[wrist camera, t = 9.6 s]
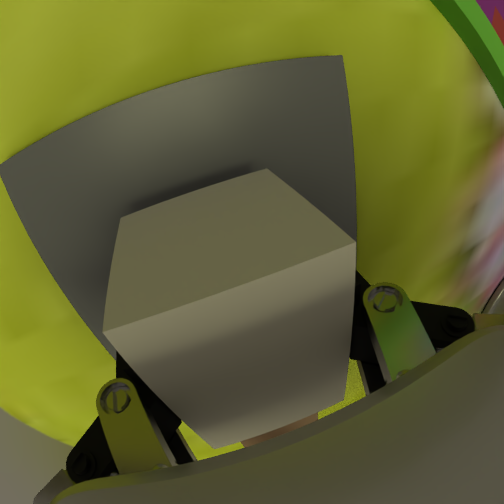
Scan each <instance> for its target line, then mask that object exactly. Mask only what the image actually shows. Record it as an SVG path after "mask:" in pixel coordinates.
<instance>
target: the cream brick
mask: <svg viewBox="0 0 504 504" xmlns="http://www.w3.org/2000/svg"><path fill="white" fill-rule="evenodd" d="M355 268H356V242H355V241H354V240H353V239H352V238H351V237H350V236H349V235H348V234H346V233H345V232H344V231H343V230H342V229H341V228H339V227H338V226H337V225H336V224H335V223H334V222H333V221H331V220H330V219H329V218H328V217H327V216H325V215H324V214H323V213H322V212H321V211H320V210H318V209H317V208H316V207H315V206H314V205H312V204H311V203H310V202H309V201H307V200H306V199H305V198H304V197H303V196H301V195H300V194H299V193H298V192H296V191H295V190H294V189H293V188H291V187H290V186H289V185H288V184H286V183H285V182H284V181H283V180H281V179H280V178H279V177H277V176H276V175H275V174H274V173H272V172H271V171H270V170H268V169H267V168H266V169H263V170H259V171H256V172H253V173H249V174H246V175H242V176H239V177H236V178H233V179H229V180H226V181H223V182H220V183H217V184H214V185H211V186H207V187H204V188H201V189H198V190H195V191H192V192H189V193H187V194H184V195H181V196H178V197H175V198H172V199H169V200H167V201H164V202H161V203H158V204H156V205H153V206H150V207H147V208H145V209H142V210H139V211H137V212H134V213H132V214H129V215H126V216H124V217H121V219H120V223H119V228H118V233H117V237H116V242H115V248H114V253H113V258H112V264H111V270H110V276H109V282H108V289H107V296H106V304H105V312H104V321H103V331H102V333H103V334H104V335H105V336H106V338H107V339H108V340H109V341H110V343H111V344H112V345H113V346H114V348H115V349H116V350H117V351H118V353H119V354H120V355H121V356H122V357H123V359H124V360H125V361H126V362H127V363H128V364H129V366H130V367H131V368H132V369H133V370H134V371H135V372H136V374H137V375H138V376H139V377H140V378H141V379H142V380H143V381H144V382H145V383H146V385H147V386H148V387H149V388H150V389H151V390H152V391H153V392H154V393H155V394H156V395H157V396H158V397H159V398H160V399H161V400H162V401H163V402H164V403H165V404H166V405H167V406H168V407H169V408H170V409H171V410H172V411H173V412H174V413H175V414H176V415H177V416H178V417H179V418H180V419H181V420H182V421H183V422H184V423H185V424H187V425H188V426H189V427H190V428H191V429H192V430H193V431H194V432H195V433H197V434H198V435H199V436H200V437H201V438H202V439H203V440H205V441H206V442H207V443H208V444H209V445H210V446H212V447H213V448H214V449H216V448H220V447H224V446H227V445H230V444H234V443H237V442H240V441H243V440H246V439H250V438H253V437H256V436H258V435H261V434H264V433H267V432H270V431H272V430H275V429H278V428H281V427H283V426H286V425H288V424H291V423H293V422H296V421H298V420H301V419H303V418H305V417H308V416H310V415H312V414H315V413H317V412H319V411H321V410H323V409H326V408H328V407H330V406H332V405H334V404H336V403H338V402H340V401H342V400H344V395H345V388H346V380H347V372H348V364H349V355H350V346H351V335H352V323H353V309H354V292H355Z"/></svg>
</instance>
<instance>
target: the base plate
mask: <svg viewBox="0 0 504 504" xmlns="http://www.w3.org/2000/svg"><path fill="white" fill-rule="evenodd" d="M266 168H267V169H268V170H270V171H271V172H272V173H274V174H275V175H276V176H277V177H279V178H280V179H281V180H283V181H284V182H285V183H286V184H288V185H289V186H290V187H291V188H293V189H294V190H295V191H296V192H298V193H299V194H300V195H301V196H303V197H304V198H305V199H306V200H307V201H309V202H310V203H311V204H312V205H314V206H315V207H316V208H317V209H318V210H320V211H321V212H322V213H323V214H324V215H325V216H327V217H328V218H329V219H330V220H331V221H333V222H334V223H335V224H336V225H337V226H338V227H339V228H341V229H342V230H343V231H344V232H345V233H346V234H348V235H349V236H350V237H351V238H352V239H353V240H354V241H355V242H356V246H357V218H356V182H355V163H354V149H353V136H352V125H351V115H350V106H349V98H348V90H347V83H346V76H345V69H344V63H343V57H342V55H337V56H319V57H307V58H297V59H288V60H280V61H273V62H266V63H260V64H254V65H248V66H243V67H237V68H232V69H228V70H223V71H218V72H214V73H210V74H206V75H202V76H198V77H194V78H190V79H187V80H183V81H180V82H176V83H173V84H170V85H166V86H163V87H160V88H157V89H154V90H151V91H148V92H145V93H142V94H139V95H137V96H134V97H131V98H129V99H126V100H123V101H121V102H118V103H116V104H113V105H111V106H108V107H106V108H104V109H101V110H99V111H97V112H94V113H92V114H90V115H88V116H86V117H83V118H81V119H79V120H77V121H75V122H73V123H71V124H69V125H67V126H65V127H63V128H61V129H59V130H57V131H55V132H53V133H51V134H50V135H48V136H46V137H44V138H42V139H41V140H39V141H37V142H35V143H34V144H32V145H30V146H29V147H27V148H25V149H24V150H22V151H20V152H19V153H17V154H16V155H14V156H12V157H11V158H9V159H8V160H6V161H5V162H3V163H2V164H0V175H1V178H2V180H3V183H4V185H5V187H6V190H7V192H8V194H9V196H10V199H11V201H12V203H13V205H14V207H15V209H16V211H17V213H18V215H19V217H20V219H21V221H22V223H23V225H24V227H25V229H26V231H27V233H28V235H29V237H30V239H31V240H32V242H33V244H34V246H35V248H36V249H37V251H38V253H39V254H40V256H41V258H42V260H43V261H44V263H45V265H46V266H47V268H48V269H49V271H50V273H51V274H52V276H53V277H54V279H55V280H56V282H57V284H58V285H59V287H60V288H61V290H62V291H63V293H64V294H65V295H66V297H67V298H68V300H69V301H70V303H71V304H72V306H73V307H74V308H75V310H76V311H77V312H78V314H79V315H80V317H81V318H82V319H83V321H84V322H85V323H86V325H87V326H88V327H89V328H90V330H91V331H92V332H93V334H94V335H95V336H96V337H97V339H98V340H99V341H100V342H101V343H102V345H103V346H104V347H105V348H106V350H107V351H108V352H109V353H110V354H111V355H112V357H113V358H114V359H115V360H116V349H115V348H114V346H113V345H112V344H111V343H110V341H109V340H108V339H107V338H106V336H105V335H104V334H103V333H102V331H103V321H104V312H105V304H106V296H107V289H108V282H109V276H110V270H111V264H112V258H113V253H114V248H115V242H116V237H117V233H118V228H119V223H120V219H121V217H124V216H126V215H129V214H132V213H134V212H137V211H139V210H142V209H145V208H147V207H150V206H153V205H156V204H158V203H161V202H164V201H167V200H169V199H172V198H175V197H178V196H181V195H184V194H187V193H189V192H192V191H195V190H198V189H201V188H204V187H207V186H211V185H214V184H217V183H220V182H223V181H226V180H229V179H233V178H236V177H239V176H242V175H246V174H249V173H253V172H256V171H259V170H263V169H266ZM355 270H356V268H355Z"/></svg>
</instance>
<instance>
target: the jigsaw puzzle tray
mask: <svg viewBox="0 0 504 504" xmlns="http://www.w3.org/2000/svg"><path fill="white" fill-rule="evenodd" d="M430 1H431V2H432V3H433V4H434V5H435V6H436V7H437V9H438V10H439V11H440V12H441V13H442V14H443V16H444V17H445V18H446V19H447V21H448V22H449V23H450V24H451V26H452V27H453V28H454V29H455V31H456V32H457V33H458V35H459V36H460V37H461V39H462V40H463V42H464V43H465V44H466V46H467V47H468V49H469V50H470V52H471V53H472V54H473V56H474V57H475V59H476V61H477V62H478V64H479V65H480V67H481V68H482V70H483V72H484V73H485V75H486V77H487V78H488V80H489V82H490V84H491V85H492V87H493V89H494V91H495V93H496V94H497V96H498V98H499V100H500V102H501V104H502V106H503V108H504V0H430Z"/></svg>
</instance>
